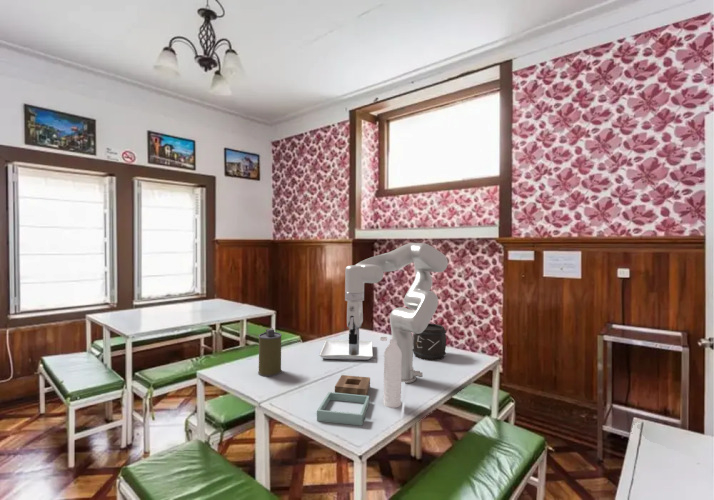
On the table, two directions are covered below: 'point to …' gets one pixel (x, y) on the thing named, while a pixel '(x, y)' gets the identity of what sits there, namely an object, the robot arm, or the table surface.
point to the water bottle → (392, 374)
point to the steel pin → (355, 347)
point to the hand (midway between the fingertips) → (354, 341)
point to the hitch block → (353, 385)
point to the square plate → (346, 350)
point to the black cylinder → (430, 343)
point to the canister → (269, 353)
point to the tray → (342, 416)
